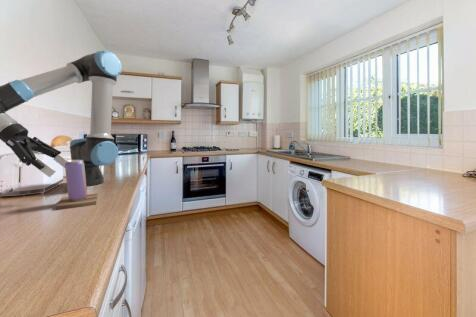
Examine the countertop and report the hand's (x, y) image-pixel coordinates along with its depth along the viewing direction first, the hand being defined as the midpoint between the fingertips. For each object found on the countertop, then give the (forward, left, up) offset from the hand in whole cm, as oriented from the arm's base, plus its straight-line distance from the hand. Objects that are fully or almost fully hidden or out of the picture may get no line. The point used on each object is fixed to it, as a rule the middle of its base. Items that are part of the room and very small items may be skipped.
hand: (62, 170), depth 86 cm
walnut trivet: (+1, +4, -13) cm, 13 cm away
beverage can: (0, +4, -12) cm, 12 cm away
